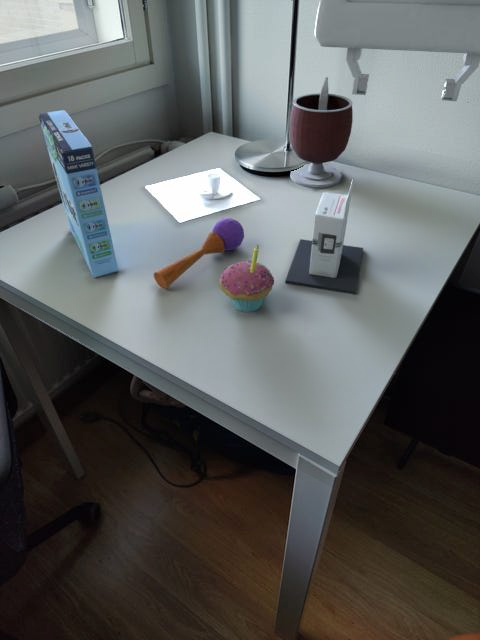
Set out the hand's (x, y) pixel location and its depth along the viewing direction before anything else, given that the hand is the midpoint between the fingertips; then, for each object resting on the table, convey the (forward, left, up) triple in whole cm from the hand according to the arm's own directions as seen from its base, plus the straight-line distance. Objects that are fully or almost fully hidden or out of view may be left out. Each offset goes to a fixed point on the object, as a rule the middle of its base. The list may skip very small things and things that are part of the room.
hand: (403, 96), depth 50 cm
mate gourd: (+15, -52, -33) cm, 64 cm away
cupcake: (+18, 0, -33) cm, 38 cm away
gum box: (+51, -8, -33) cm, 61 cm away
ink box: (+7, -14, -33) cm, 36 cm away
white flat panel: (+39, -36, -33) cm, 63 cm away
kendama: (+29, -9, -33) cm, 45 cm away
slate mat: (+7, -14, -33) cm, 37 cm away
